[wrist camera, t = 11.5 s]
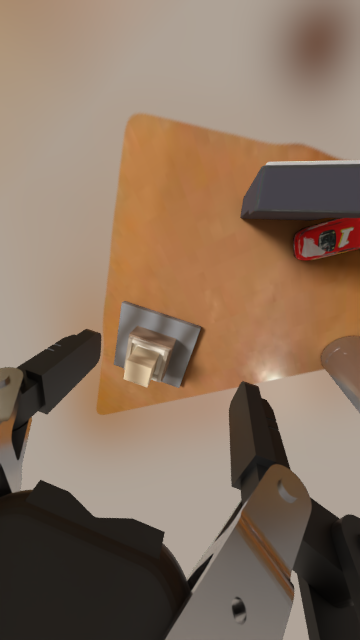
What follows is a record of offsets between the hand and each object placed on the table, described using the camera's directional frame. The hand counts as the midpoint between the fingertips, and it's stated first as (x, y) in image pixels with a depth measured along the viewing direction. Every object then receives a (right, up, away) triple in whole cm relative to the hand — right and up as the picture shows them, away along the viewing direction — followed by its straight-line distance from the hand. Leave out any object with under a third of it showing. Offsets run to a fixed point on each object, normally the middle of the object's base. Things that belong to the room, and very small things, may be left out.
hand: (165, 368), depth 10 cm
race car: (+26, +16, +19) cm, 36 cm away
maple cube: (-6, -6, +30) cm, 31 cm away
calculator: (+16, +20, +19) cm, 32 cm away
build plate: (-5, -4, +35) cm, 35 cm away
